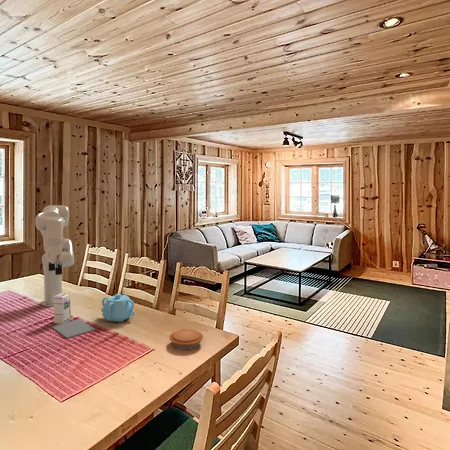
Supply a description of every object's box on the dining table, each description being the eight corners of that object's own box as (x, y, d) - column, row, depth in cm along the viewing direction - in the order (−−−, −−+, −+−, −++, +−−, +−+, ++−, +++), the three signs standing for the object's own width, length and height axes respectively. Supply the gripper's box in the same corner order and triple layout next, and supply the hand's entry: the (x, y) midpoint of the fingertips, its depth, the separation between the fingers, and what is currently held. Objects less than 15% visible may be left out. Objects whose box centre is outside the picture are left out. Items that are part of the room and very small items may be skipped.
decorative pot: (136, 321, 179) (136, 297, 178) (104, 326, 172) (104, 300, 170) (130, 311, 193) (130, 288, 192) (100, 315, 186) (100, 291, 185)
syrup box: (63, 324, 173) (63, 297, 171) (53, 323, 174) (53, 296, 172) (70, 320, 178) (70, 293, 177) (61, 319, 179) (60, 292, 178)
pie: (209, 346, 153) (209, 336, 153) (179, 355, 144) (179, 344, 144) (192, 334, 166) (192, 324, 165) (163, 341, 157) (163, 331, 156)
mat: (51, 327, 168) (51, 326, 168) (79, 320, 178) (79, 319, 178) (67, 338, 156) (67, 337, 156) (95, 330, 167) (95, 328, 167)
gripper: (41, 239, 182) (42, 270, 184) (53, 244, 170) (54, 277, 172) (55, 238, 187) (56, 268, 189) (68, 243, 176) (68, 274, 178)
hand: (55, 272), depth 181 cm, fingers open, 9 cm apart
